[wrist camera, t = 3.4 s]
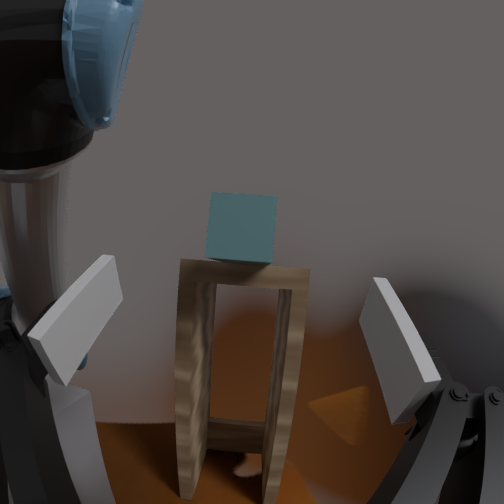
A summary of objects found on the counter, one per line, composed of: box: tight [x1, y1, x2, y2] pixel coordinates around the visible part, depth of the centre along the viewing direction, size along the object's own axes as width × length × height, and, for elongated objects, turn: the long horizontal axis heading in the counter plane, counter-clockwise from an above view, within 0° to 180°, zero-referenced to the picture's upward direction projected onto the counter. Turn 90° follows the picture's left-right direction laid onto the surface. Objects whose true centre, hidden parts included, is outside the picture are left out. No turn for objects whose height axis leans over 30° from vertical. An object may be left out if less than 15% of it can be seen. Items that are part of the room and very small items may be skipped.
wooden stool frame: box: [175, 259, 310, 504], centre depth 32 cm, size 15×12×31 cm
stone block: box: [7, 374, 116, 504], centre depth 11 cm, size 10×9×20 cm
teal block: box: [205, 192, 277, 266], centre depth 29 cm, size 24×4×4 cm, turn 179°
